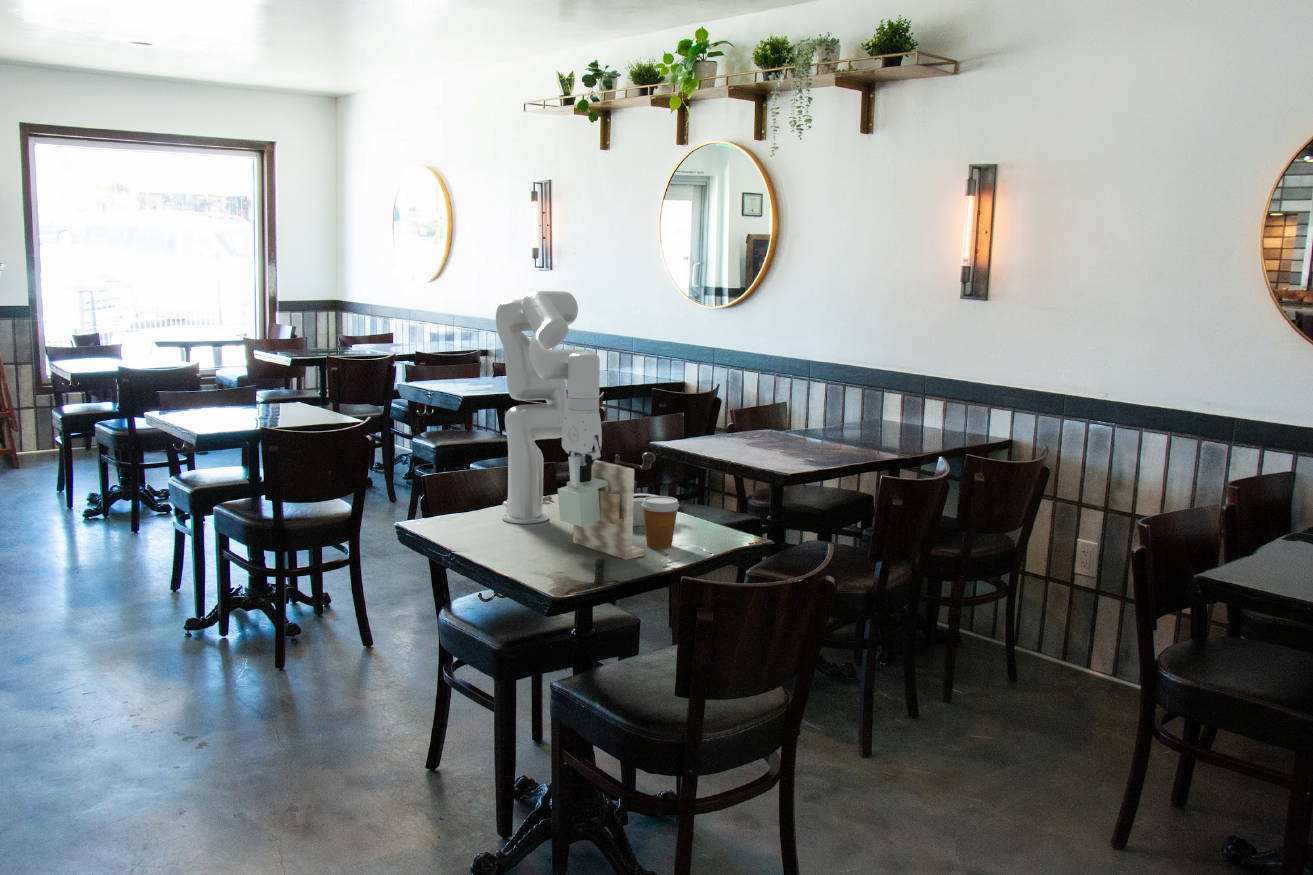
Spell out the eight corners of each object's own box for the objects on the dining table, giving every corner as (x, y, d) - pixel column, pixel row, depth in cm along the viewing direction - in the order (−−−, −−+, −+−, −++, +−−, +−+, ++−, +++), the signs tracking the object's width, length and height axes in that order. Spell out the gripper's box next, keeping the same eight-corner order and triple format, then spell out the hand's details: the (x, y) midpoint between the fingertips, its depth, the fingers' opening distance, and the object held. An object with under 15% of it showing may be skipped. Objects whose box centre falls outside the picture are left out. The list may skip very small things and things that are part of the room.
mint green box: (560, 520, 251) (554, 456, 248) (589, 510, 258) (584, 448, 254) (581, 526, 246) (576, 461, 242) (610, 516, 252) (605, 453, 248)
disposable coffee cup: (651, 552, 256) (652, 505, 254) (634, 543, 264) (635, 497, 262) (684, 548, 260) (686, 502, 258) (667, 539, 269) (668, 494, 267)
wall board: (563, 544, 261) (564, 458, 258) (591, 538, 268) (592, 454, 264) (615, 561, 247) (618, 471, 243) (644, 555, 253) (646, 467, 250)
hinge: (666, 520, 289) (669, 490, 284) (669, 530, 285) (672, 499, 280) (606, 521, 286) (609, 490, 281) (608, 531, 281) (611, 500, 277)
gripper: (549, 402, 249) (549, 477, 252) (592, 409, 238) (591, 488, 241) (574, 400, 254) (573, 473, 257) (617, 407, 243) (615, 484, 246)
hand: (581, 480), depth 249 cm, fingers closed on mint green box
